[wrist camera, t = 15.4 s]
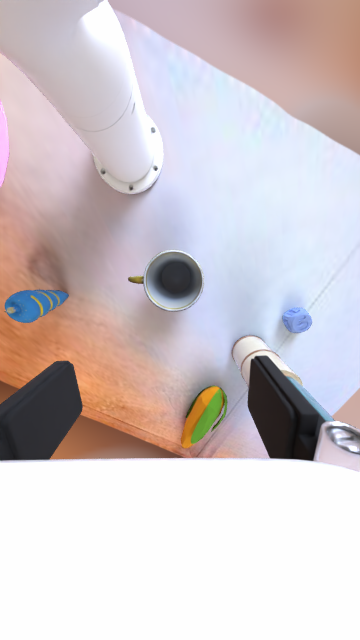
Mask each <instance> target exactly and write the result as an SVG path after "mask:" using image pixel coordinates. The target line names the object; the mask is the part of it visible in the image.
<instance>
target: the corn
mask: <svg viewBox="0 0 360 640" xmlns="http://www.w3.org/2000/svg"><path fill="white" fill-rule="evenodd" d="M224 403H225V408H224V413H223V415H222V417H221V418H220V420H219V421H218V422H217V423H216V425H215V426H214V427H213V429H212V431H213V430H214V429H215V428H216V427H217V426H218V425H219V424H220V422H221V421H222V420H223V418H224V417H225V415H226V410H227V396H226V394H225V392H224V391H223V390H222V389H221V388H219V387H218V386H210V387H207V388H206V389H204V390H202V391H201V392H200V393H199V394H198V396H197V397H196V399H195V400H194V402H193V403H192V405H191V407H190V409H189V411H188V413H187V415H186V418H187V420H186V422H185V425H184V429H183V433H182V436H181V444H182V448H189V447H191V446H192V445H193V444H195V443H196V442H198V441H199V440H200V439H202V438H203V437H204V435H205V434H206V433H207V432H208V430H209V429H210V427H211V426H212V424H213V423H214V421H215V420H216V419H217V417H218V416H219V415H220V413H221V411H222V408H223V406H224ZM212 431H211V432H212Z"/></svg>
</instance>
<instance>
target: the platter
mask: <svg viewBox="0 0 360 640" xmlns="http://www.w3.org/2000/svg"><path fill="white" fill-rule="evenodd" d="M8 158H9V143H8V130H7V119H6V116H5V113H4V110H3V107H2V104H1V101H0V187H1V185H2V184H3V182H4V177H5V172H6V168H7V163H8Z"/></svg>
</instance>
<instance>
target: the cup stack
mask: <svg viewBox="0 0 360 640" xmlns="http://www.w3.org/2000/svg"><path fill="white" fill-rule="evenodd" d="M262 355H267V356H268V357H269V358H270V359H271V360H272V361H273V362H274V364H275V365H276V366H277V367H278V368H279V369H280V370H281V371H282V373H283V374H284V375H285V376H288V377H292V378H294V379H295V380H297V381H298V382H299V383H300V384H301V385H302V382H301V380H300V378H299V377H298V376H297V375H296V374H295V373H294V372H293V371H292V370H291V369H290V368H289V367H288V366H287V365H286V364H285V363H284V362H283V361H282V360H281V358H280V357H279V356H278V355H277V354H276V353H275V352H273V351H272V350H271V349H270V348H269V347H268V345H267V344H266V343H265V342H264V341H263V340H262V339H261V338H259V337H257V336H253V335H249V336H244V337H242V338H240V339H239V340H237V341H236V342H235V344H234V345H233V348H232V357H233V359H234V361H235V362H236V364H237V366H238V368H239V370H240V372H241V375H242V377H243V379H244V380H245V382H246V384H247V386H248V388H249V377H250V363H251V359H254V357H255V356H262ZM302 386H303V385H302Z"/></svg>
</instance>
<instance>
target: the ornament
mask: <svg viewBox="0 0 360 640" xmlns="http://www.w3.org/2000/svg"><path fill="white" fill-rule="evenodd" d="M68 296H69V295H68V294H67V293H64V292H62V291H59V290H55V291H54V290H46V291H45V290H34V291H33V290H25V291H20V292H17V293H15V294H13V295H12V296H10V297H9V298H8V299H7V300H6V302H5V310H6V311H5V312H7V314H8V315H9V316H10V317H11V318H12V319H14V320H16V321H18V322H23V323H30V322H33V321H35V320H37V319H38V318H39V317H42V316H44V315H46V314H47V313H48V312H49V311H51V310H53V309H55V308H56V306H60V305H61V304H62V303H63V302H64V301H65V300H66V299H67V298H68Z"/></svg>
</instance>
